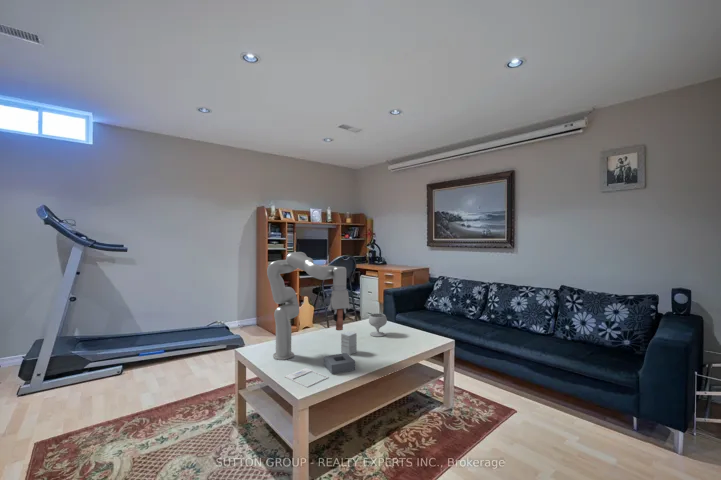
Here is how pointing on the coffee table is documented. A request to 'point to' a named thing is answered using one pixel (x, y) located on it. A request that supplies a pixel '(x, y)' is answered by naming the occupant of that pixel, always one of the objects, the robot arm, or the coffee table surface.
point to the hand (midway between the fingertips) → (339, 320)
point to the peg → (339, 319)
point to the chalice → (377, 323)
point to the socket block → (339, 363)
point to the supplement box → (348, 342)
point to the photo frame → (303, 372)
